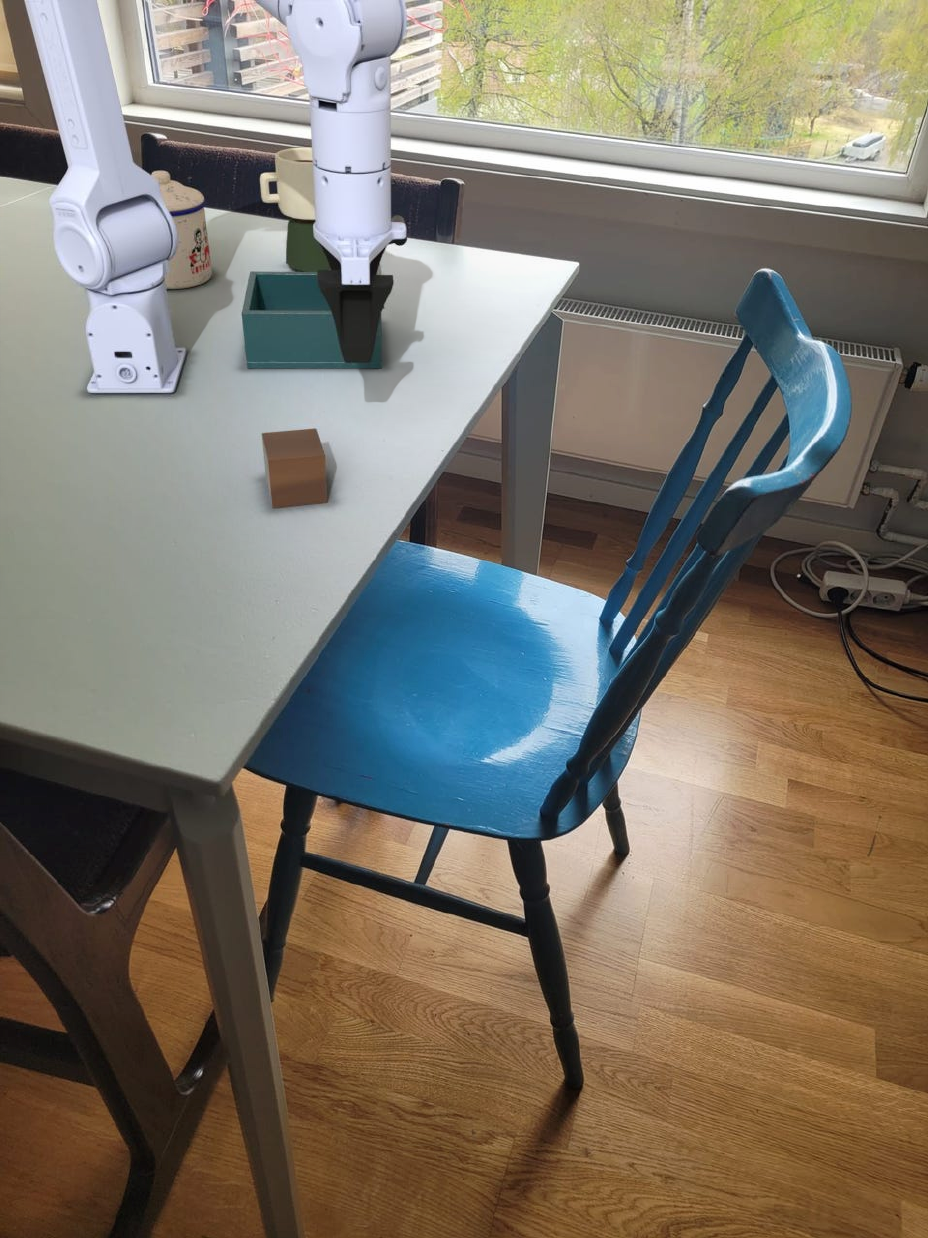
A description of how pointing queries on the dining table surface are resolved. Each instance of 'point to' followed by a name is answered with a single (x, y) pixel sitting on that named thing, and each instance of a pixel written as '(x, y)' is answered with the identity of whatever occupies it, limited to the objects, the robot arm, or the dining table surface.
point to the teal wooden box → (293, 324)
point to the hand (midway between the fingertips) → (356, 341)
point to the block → (294, 467)
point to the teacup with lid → (186, 234)
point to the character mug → (296, 207)
